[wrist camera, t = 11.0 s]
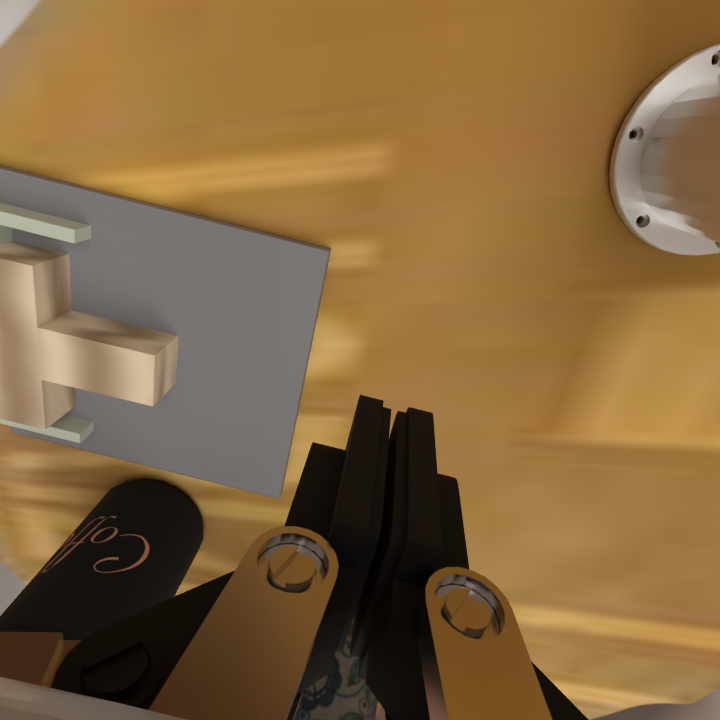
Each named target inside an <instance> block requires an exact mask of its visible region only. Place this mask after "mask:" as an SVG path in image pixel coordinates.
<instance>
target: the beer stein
mask: <svg viewBox="0 0 720 720" xmlns="http://www.w3.org/2000/svg"><path fill="white" fill-rule="evenodd" d="M353 621H354V617H353V620H352V623H351V626H350V629H349V632H348V635H347V638H346V641H345V644H344V647H343V650H342V652H341V653H339V652H336V653H335V656H334V660H333V663H332V666H331V669H330V672H329V674H328V675H326V676H325V677H323V678H322V679H320V680H319V681H317V682H316V683H314V684H313V685H311V686H310V687H308V688H307V689H305V690H304V691H303V694H302V698H301V701H300V704H299V706H298V709H297V712H296V715H295V718H294V720H376V710H377V704H378V700H377V699H376V697H375V696H374V694H373V693H372V691H371V690H370V689H369V687H368V686H367V684H366V683H365V682H366V680H364V679H360V678H357V677H358V668H359V657H355V656H351V655H350V645H351V637H352V629H353Z"/></svg>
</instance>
